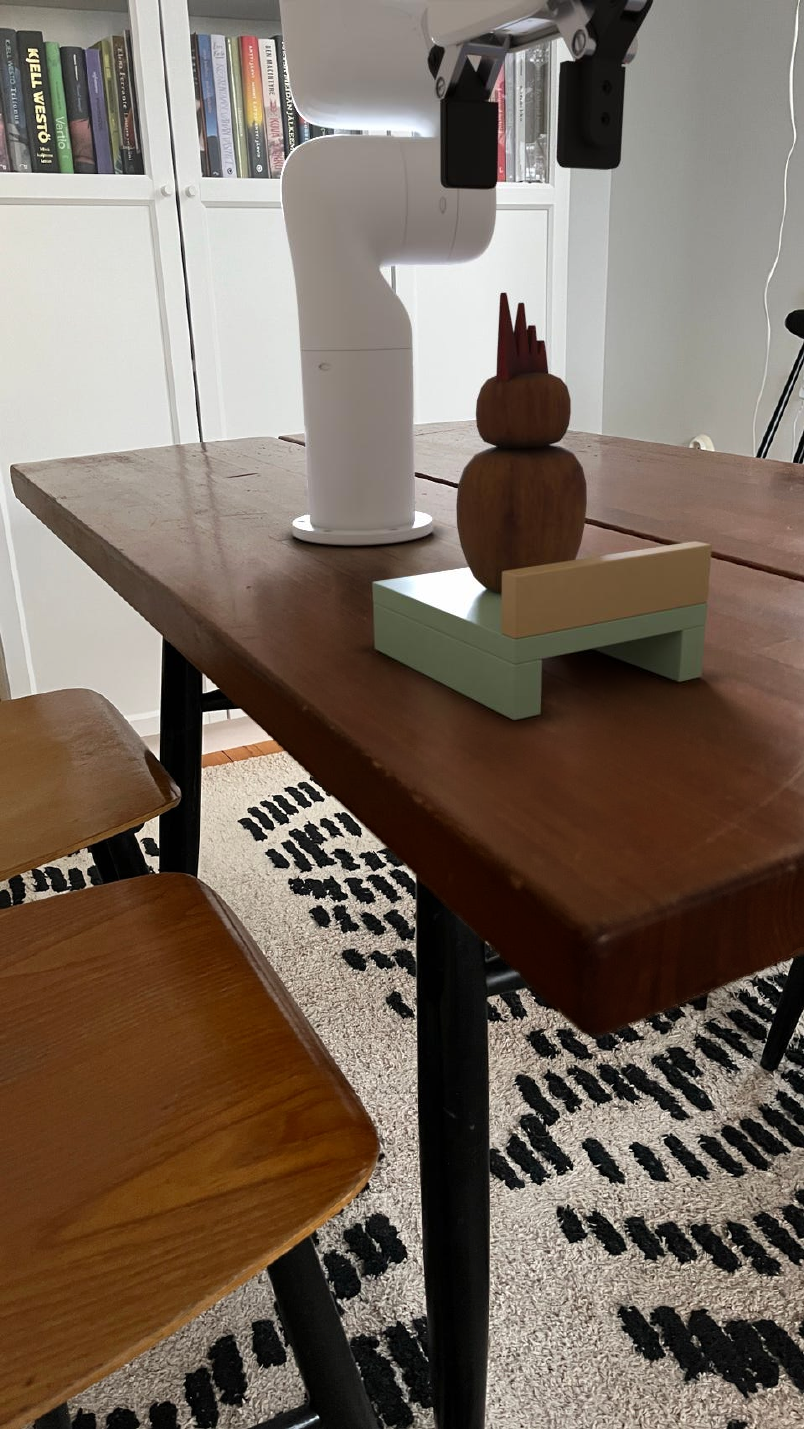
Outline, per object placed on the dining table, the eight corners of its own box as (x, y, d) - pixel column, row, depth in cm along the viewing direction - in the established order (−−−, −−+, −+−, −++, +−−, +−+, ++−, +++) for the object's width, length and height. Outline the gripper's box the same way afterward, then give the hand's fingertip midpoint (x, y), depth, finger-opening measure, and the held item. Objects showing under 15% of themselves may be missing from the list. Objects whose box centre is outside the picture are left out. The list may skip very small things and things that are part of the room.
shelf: (374, 649, 61) (370, 529, 59) (541, 618, 67) (544, 507, 64) (513, 721, 50) (516, 575, 47) (701, 677, 55) (712, 544, 53)
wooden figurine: (496, 607, 54) (499, 291, 49) (440, 584, 59) (438, 295, 54) (603, 589, 57) (616, 290, 52) (541, 570, 62) (548, 294, 56)
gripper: (361, -208, 50) (371, 193, 56) (596, -409, 36) (574, 154, 42) (493, -178, 53) (488, 197, 60) (754, -352, 39) (712, 162, 46)
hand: (524, 179), depth 51 cm, fingers open, 9 cm apart
